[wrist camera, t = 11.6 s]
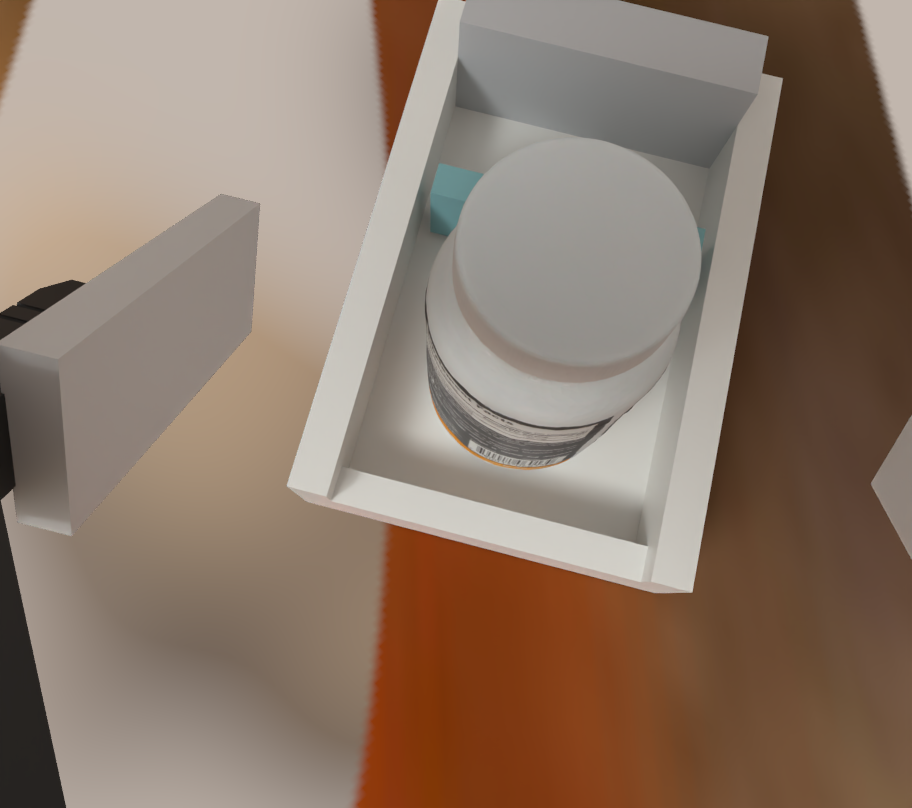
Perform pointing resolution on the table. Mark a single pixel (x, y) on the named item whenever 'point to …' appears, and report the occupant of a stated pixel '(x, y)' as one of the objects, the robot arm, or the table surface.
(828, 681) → the table surface
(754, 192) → the pusher lane
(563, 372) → the pill bottle
